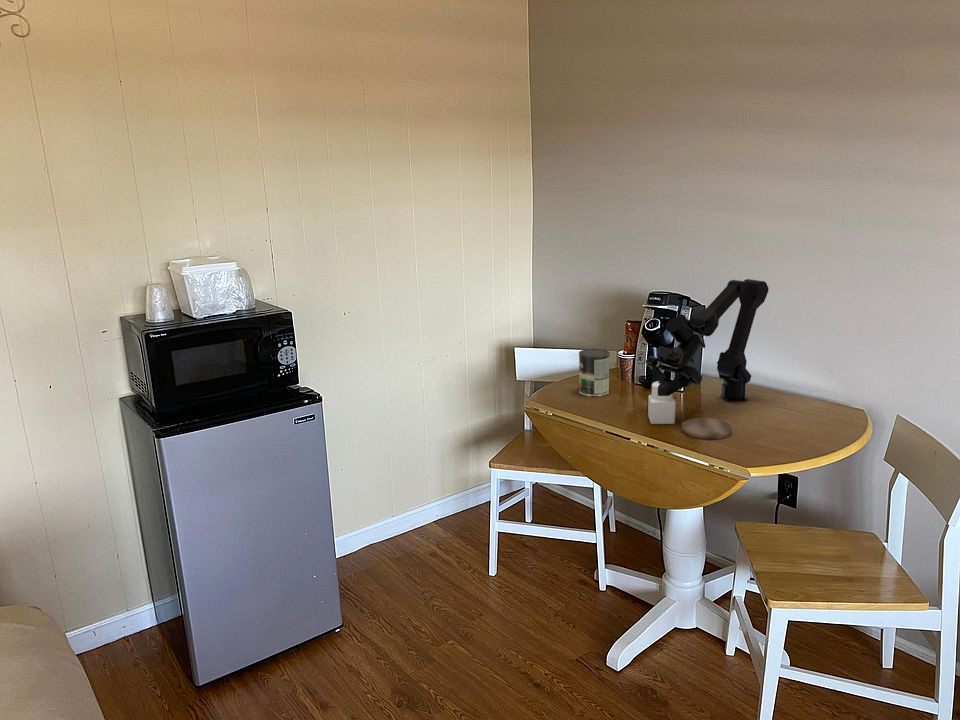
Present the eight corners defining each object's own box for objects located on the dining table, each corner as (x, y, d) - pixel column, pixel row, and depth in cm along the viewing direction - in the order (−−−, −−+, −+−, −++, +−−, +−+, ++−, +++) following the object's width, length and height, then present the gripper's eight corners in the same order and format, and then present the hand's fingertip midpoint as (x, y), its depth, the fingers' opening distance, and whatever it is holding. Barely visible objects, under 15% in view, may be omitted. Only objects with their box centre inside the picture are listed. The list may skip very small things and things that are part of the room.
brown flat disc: (720, 421, 229) (720, 416, 229) (739, 438, 216) (739, 433, 216) (675, 424, 229) (675, 419, 228) (690, 441, 215) (690, 436, 215)
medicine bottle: (671, 416, 235) (672, 379, 232) (674, 424, 229) (676, 386, 225) (647, 416, 236) (648, 379, 233) (650, 424, 229) (651, 386, 226)
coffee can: (578, 396, 257) (578, 356, 253) (579, 387, 267) (578, 348, 263) (609, 396, 256) (610, 356, 252) (608, 387, 266) (609, 348, 262)
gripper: (650, 330, 235) (623, 371, 232) (696, 341, 220) (668, 385, 217) (667, 350, 241) (641, 390, 238) (714, 362, 226) (687, 405, 223)
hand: (658, 392), depth 229 cm, fingers closed on medicine bottle, 6 cm apart
